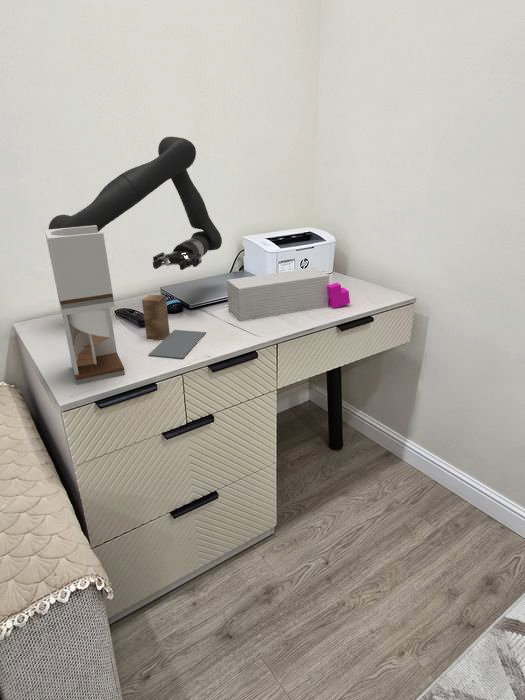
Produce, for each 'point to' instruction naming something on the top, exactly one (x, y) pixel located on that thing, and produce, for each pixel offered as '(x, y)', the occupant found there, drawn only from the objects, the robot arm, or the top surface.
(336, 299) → the toy block
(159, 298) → the walnut block
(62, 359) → the top surface
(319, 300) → the long grey block
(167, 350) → the rubber mat
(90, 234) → the white open-top tower
